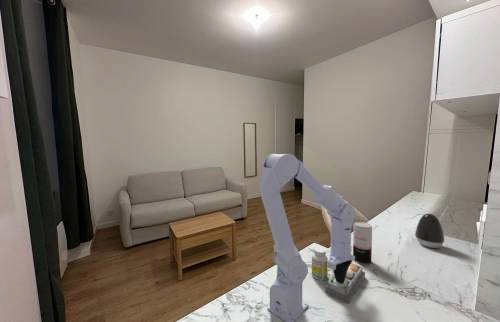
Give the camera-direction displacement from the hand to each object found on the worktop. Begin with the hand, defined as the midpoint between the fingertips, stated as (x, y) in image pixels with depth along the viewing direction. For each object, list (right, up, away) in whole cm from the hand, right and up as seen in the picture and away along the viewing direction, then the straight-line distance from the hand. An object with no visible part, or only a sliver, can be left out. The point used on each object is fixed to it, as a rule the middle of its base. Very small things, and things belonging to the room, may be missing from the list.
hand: (340, 281), depth 62 cm
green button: (0, -2, 0) cm, 2 cm away
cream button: (+4, 0, +4) cm, 6 cm away
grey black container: (+17, -3, +19) cm, 26 cm away
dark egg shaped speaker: (+56, -2, +31) cm, 64 cm away
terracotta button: (+8, -1, +8) cm, 11 cm away
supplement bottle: (-3, -4, +9) cm, 10 cm away
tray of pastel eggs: (+4, -3, +4) cm, 7 cm away
